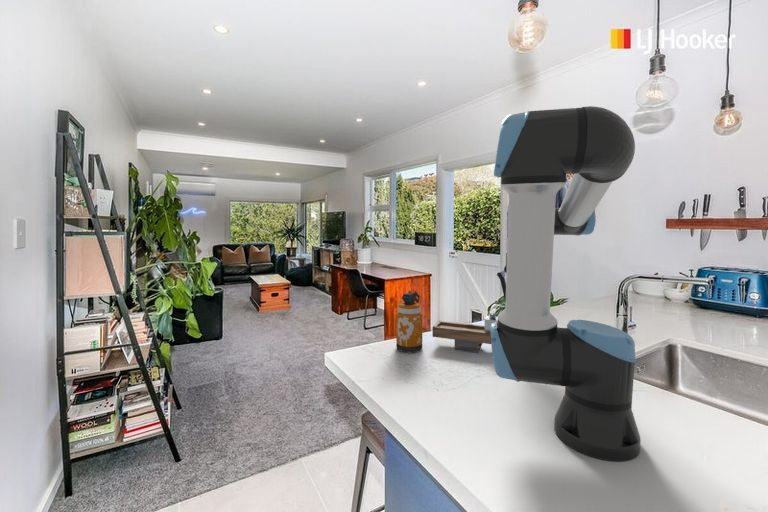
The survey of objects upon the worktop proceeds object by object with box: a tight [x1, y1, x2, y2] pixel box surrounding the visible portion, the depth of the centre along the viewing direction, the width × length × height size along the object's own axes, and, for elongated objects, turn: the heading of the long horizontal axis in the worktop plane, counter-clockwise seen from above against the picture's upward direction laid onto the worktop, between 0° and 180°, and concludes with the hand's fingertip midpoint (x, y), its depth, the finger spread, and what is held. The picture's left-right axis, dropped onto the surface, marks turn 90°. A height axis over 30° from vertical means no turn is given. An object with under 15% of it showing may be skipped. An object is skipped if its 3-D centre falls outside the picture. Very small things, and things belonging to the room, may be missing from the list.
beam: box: [431, 320, 491, 354], centre depth 124 cm, size 8×23×8 cm, turn 66°
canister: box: [395, 290, 423, 353], centre depth 125 cm, size 9×11×20 cm
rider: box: [484, 312, 498, 333], centre depth 120 cm, size 4×4×6 cm
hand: (516, 323), depth 117 cm, fingers closed
